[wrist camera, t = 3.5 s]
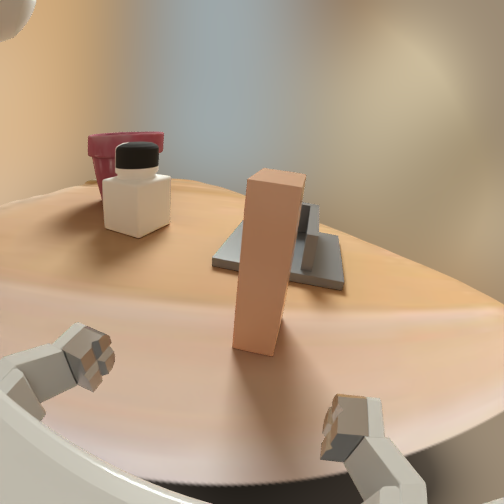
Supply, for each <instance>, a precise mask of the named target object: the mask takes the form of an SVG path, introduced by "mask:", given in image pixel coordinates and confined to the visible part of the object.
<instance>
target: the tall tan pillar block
mask: <svg viewBox="0 0 504 504" xmlns="http://www.w3.org/2000/svg"><path fill="white" fill-rule="evenodd" d="M305 180H306V174H300V173H294V172H288V171H281V170H273V169H267V168H263V169H262V170H260V171H259V172H257V173H256V174H255V175H253V176H251V177H250V178H248V179H247V189H246V199H245V209H244V220H243V231H242V241H241V252H240V263H239V274H238V286H237V297H236V309H235V321H234V333H233V345H232V348H236V349H240V350H244V351H249V352H253V353H258V354H263V355H268V356H272V357H273V354H274V350H275V346H276V342H277V337H278V333H279V329H280V325H281V321H282V316H283V311H284V306H285V300H286V295H287V290H288V284H289V279H290V273H291V267H292V262H293V256H294V250H295V244H296V238H297V232H298V226H299V220H300V213H301V207H302V200H303V193H304V187H305Z"/></svg>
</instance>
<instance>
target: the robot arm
mask: <svg viewBox="0 0 504 504" xmlns="http://www.w3.org/2000/svg"><path fill="white" fill-rule="evenodd" d="M35 4H36V0H0V42H2V41H5V40H8V39H11V38H13V37H14V36H16V35H17V34H18V33H19V32H20V31H21V30H22V28H23V27H24V26H25V25H26V23H27V22H28V20H29V18H30V17H31V15H32V13H33V10H34V7H35ZM111 343H112V342H111V339H110V336H109V335H107V334H104V333H102V332H100V331H97V330H95V329H93V328H91V327H88V326H86V325H84V324H82V323H79V322H77V323H74V324H73V325H72V326H71V327H70V328H69V329H68V330H67V331H66V332H64V333H63V334H62V335H61V336H60V337H59V338H58V339H57V340H56V341H55V342H54V343H53V344H52V345H51V344H45V345H42V346H39V347H35V348H32V349H28V350H25V351H22V352H18V353H15V354H11V355H8V356H4V357H3V358H2V359H0V504H211V503H207V502H204V501H201V500H197V499H194V498H190V497H188V496H185V495H182V494H179V493H176V492H173V491H170V490H168V489H165V488H162V487H160V486H157V485H155V484H152V483H150V482H148V481H145V480H143V479H140V478H138V477H136V476H134V475H131V474H129V473H127V472H125V471H123V470H121V469H119V468H117V467H115V466H113V465H111V464H109V463H107V462H105V461H103V460H101V459H99V458H97V457H96V456H94V455H92V454H90V453H88V452H87V451H85V450H83V449H82V448H80V447H78V446H77V445H75V444H73V443H72V442H70V441H68V440H67V439H65V438H64V437H62V436H61V435H59V434H58V433H56V432H55V431H53V430H52V429H50V428H49V427H47V426H46V425H45V424H43V423H42V422H40V421H41V420H42V419H43V417H44V416H45V415H46V412H45V410H44V408H43V407H42V405H41V402H44V401H46V400H48V399H50V398H52V397H54V396H56V395H58V394H60V393H62V392H64V391H66V390H69V389H71V388H73V387H75V386H77V385H79V386H81V387H83V388H85V389H88V390H90V391H92V392H94V391H95V390H96V389H97V387H98V386H99V385H100V384H101V382H102V376H103V375H106V374H109V372H110V371H111V370H112V368H113V365H114V362H115V354H114V351H113V350H112V348H111V347H110V344H111ZM322 433H323V435H324V436H325V438H324V440H323V442H322V443H321V454H320V460H328V461H336V462H344V465H345V467H346V469H347V471H348V472H349V474H350V476H351V478H352V480H353V482H354V483H355V485H356V487H357V489H358V491H359V493H360V494H361V496H362V498H363V500H364V502H363V503H362V504H427V494H426V483H425V482H424V481H423V479H422V478H421V477H420V476H419V475H418V473H417V472H416V471H415V469H414V468H413V467H412V466H411V464H410V463H409V462H408V461H407V460H406V458H405V457H404V456H403V455H402V453H401V452H400V451H399V450H398V448H397V447H396V446H395V445H394V443H393V442H392V441H391V440H390V438H387V437H385V433H384V422H383V413H382V404H381V400H380V398H372V397H364V396H353V395H344V394H336V395H335V397H334V399H333V402H332V407H330V408H329V409H328V411H327V413H326V416H325V419H324V424H323V432H322ZM484 504H504V497H503V498H500V499H496V500H494V501H490V502H487V503H484Z"/></svg>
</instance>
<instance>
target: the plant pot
mask: <svg viewBox="0 0 504 504" xmlns="http://www.w3.org/2000/svg"><path fill="white" fill-rule="evenodd" d="M139 141H142V142H153V143H155V144H157V145H158V147H159V153H161V152H162V151H163V141H164V133H163V132H120V133H105V134H94V135H90V136H89V137H88V155H89V156H91V157H92V159H93V164H94V169H95V174H96V178H97V183H98V187H99V190H100V194H101V198H102V201H103V191H102V181H103V180H104V179H107V178H111V177H115V176H117V174H116V173H115V149H116V147H117V146H118V145H120V144H122V143H127V142H139Z"/></svg>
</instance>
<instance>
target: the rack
mask: <svg viewBox="0 0 504 504" xmlns="http://www.w3.org/2000/svg"><path fill="white" fill-rule="evenodd" d="M242 231H243V221H242V222H241V223H240V225H239V226H238V227H237V228H236V229H235V231H234V232H233V233H232V234H231V235H230V237H229V238H228V239H227V240H226V241H225V243H224V244H223V245H222V246H221V247H220V249H219V250H218V251H217V252H216V254H215V255H214V256H213V257H212V266H216V267H221V268H226V269H231V270H236V271H239V263H240V252H241V241H242ZM289 281H293V282H298V283H304V284H309V285H315V286H320V287H326V288H331V289H337V290H342V288H343V285H344V276H343V268H342V260H341V253H340V246H339V239H338V236H336V235H331V234H326V233H320V232H319V205H315V204H309V203H303V202H302V207H301V213H300V220H299V226H298V232H297V238H296V244H295V250H294V256H293V262H292V267H291V273H290V279H289Z"/></svg>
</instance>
